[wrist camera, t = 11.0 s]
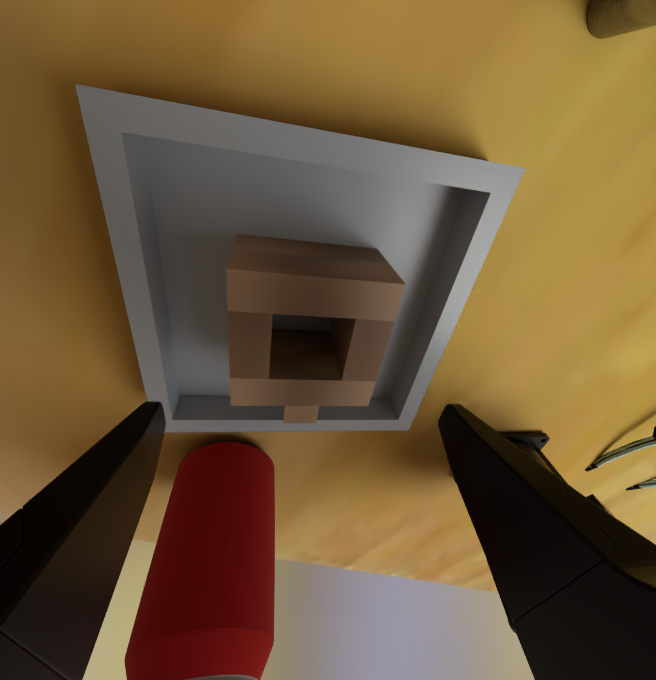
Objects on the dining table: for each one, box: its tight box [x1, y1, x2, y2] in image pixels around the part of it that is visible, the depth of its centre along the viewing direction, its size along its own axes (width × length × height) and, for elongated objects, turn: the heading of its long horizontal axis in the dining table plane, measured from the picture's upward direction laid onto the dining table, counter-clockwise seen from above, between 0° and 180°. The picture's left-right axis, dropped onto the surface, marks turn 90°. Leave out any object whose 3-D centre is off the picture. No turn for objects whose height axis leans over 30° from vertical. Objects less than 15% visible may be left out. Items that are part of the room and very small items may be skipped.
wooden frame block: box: [226, 234, 406, 423], centre depth 15 cm, size 6×8×4 cm
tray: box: [75, 84, 525, 433], centre depth 15 cm, size 15×15×2 cm
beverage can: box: [125, 442, 275, 680], centre depth 19 cm, size 7×7×12 cm
